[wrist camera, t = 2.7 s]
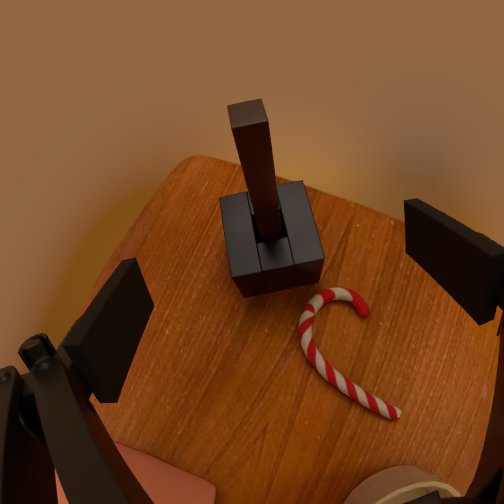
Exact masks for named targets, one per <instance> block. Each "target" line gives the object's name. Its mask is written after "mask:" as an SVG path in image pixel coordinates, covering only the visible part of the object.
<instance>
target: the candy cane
mask: <svg viewBox="0 0 504 504" xmlns="http://www.w3.org/2000/svg"><path fill="white" fill-rule="evenodd" d="M338 299H341V300H346V301H349V302H350V303H352V304H353V305H354V307H355V308H356V309H357V311H358V313H359V315H360V316H365V315H368V314H369V313H370V310H369V307H368V306H367V304H366V302H365V301H364V300H363V298H362V297H361V296H360V295H358V294H357V293H356V292H354V291H352V290H349V289H346V288H328V289H324V290H322V291H320V292H319V293H317V294H316V295H314V296H313V297H312V298H311V299H310V300H309V302H308V303H307V304H306V306H305V307H304V309H303V311H302V314H301V317H300V321H299V339H300V343H301V346H302V349H303V351H304V353H305V355H306V357H307V358H308V360H309V361H310V363H311V364H312V366H313V367H314V368H315V369H316V370H317V372H318V373H319V374H320V375H321V376H322V377H324V378H325V379H326V380H327V381H328V382H329V383H331V384H332V385H333V386H335V387H336V388H337V389H339V390H340V391H342V392H343V393H344V394H346V395H347V396H349V397H350V398H352V399H354V400H355V401H357V402H358V403H360V404H362V405H363V406H365V407H367V408H369V409H371V410H373V411H375V412H377V413H379V414H381V415H383V416H385V417H387V418H390V419H392V420H398V419H399V418H400V417H401V415H402V410H401V409H399V408H397V407H395V406H393V405H391V404H389V403H387V402H385V401H383V400H381V399H379V398H377V397H376V396H374V395H372V394H370V393H369V392H367V391H365V390H364V389H362V388H360V387H359V386H357V385H356V384H354V383H353V382H351V381H350V380H349V379H347V378H346V377H344V376H343V375H342V374H340V373H339V372H338V371H337V370H335V369H334V368H333V367H332V366H331V365H330V364H329V363H328V362H327V361H326V360H325V359H324V358H323V357H322V355H321V354H320V353H319V351H318V349H317V348H316V346H315V343H314V340H313V336H312V323H313V319H314V317H315V315H316V313H317V311H318V310H319V309H320V308H321V307H322V306H323V305H324V304H325V303H327V302H329V301H332V300H338Z"/></svg>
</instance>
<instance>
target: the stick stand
mask: <svg viewBox="0 0 504 504" xmlns="http://www.w3.org/2000/svg"><path fill="white" fill-rule="evenodd" d="M276 186H277V194H278V203H279V212H280V221H281V230H282V238H280V239H276V240H271V241H266V242H261V238H260V234H259V230H258V226H257V223H256V219H255V215H254V211H253V207H252V204H251V200H250V196H249V192H248V191H247V192H242V193H237V194H233V195H228V196H224V197H220V198H219V200H220V207H221V214H222V221H223V228H224V235H225V241H226V248H227V255H228V261H229V268H230V274H231V278H232V280H233V281H234V283H235V284H236V286H237V287H238V289H239V290H240V292H241V293H242V295H243V296H244V298H245V297H251V296H256V295H261V294H266V293H270V292H275V291H280V290H285V289H290V288H294V287H299V286H304V285H309V284H313V283H318V282H319V280H320V276H321V272H322V268H323V263H324V259H325V257H324V253H323V250H322V246H321V242H320V239H319V235H318V231H317V228H316V224H315V221H314V217H313V214H312V210H311V207H310V203H309V200H308V197H307V193H306V190H305V187H304V183H303V181H302V180H301V181H295V182H290V183H285V184H280V185H276Z"/></svg>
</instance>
